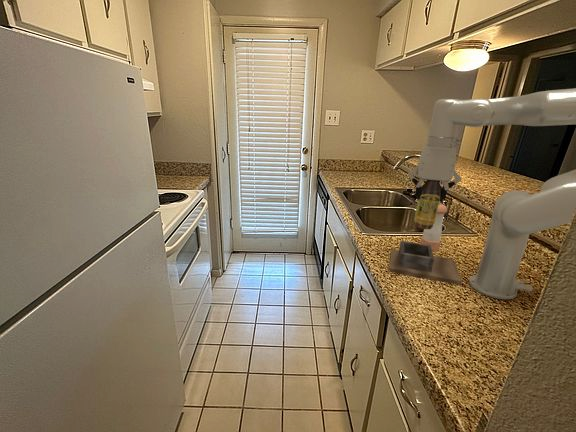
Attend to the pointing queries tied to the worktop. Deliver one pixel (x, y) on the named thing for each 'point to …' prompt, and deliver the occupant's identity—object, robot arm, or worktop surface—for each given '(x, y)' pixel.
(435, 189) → the sauce bottle
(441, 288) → the worktop surface
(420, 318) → the worktop surface
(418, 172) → the robot arm
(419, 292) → the worktop surface
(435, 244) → the pepper shaker
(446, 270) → the bottle caddy
